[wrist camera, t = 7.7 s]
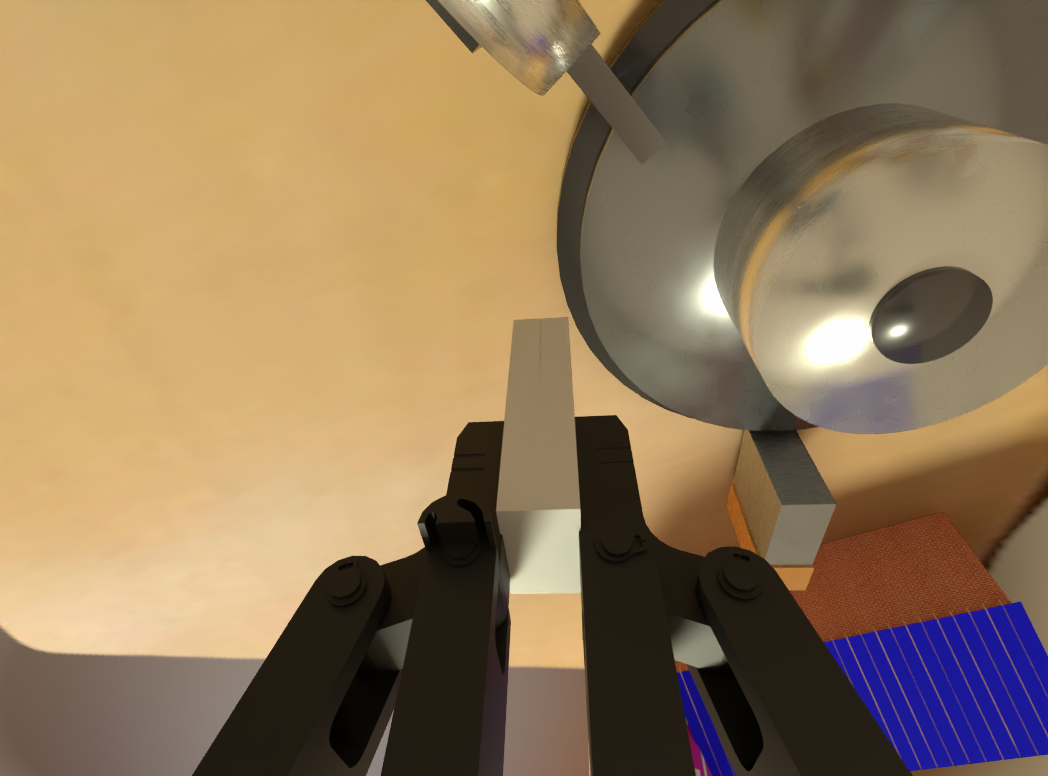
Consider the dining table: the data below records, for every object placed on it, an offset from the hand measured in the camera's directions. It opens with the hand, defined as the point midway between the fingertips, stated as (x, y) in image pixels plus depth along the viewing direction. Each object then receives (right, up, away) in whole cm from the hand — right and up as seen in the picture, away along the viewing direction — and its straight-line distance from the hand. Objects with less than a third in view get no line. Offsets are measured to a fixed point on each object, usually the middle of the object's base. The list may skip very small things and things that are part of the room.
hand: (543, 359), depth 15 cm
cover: (+12, +5, +6) cm, 15 cm away
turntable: (+12, +3, +9) cm, 16 cm away
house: (+21, -16, +25) cm, 37 cm away
